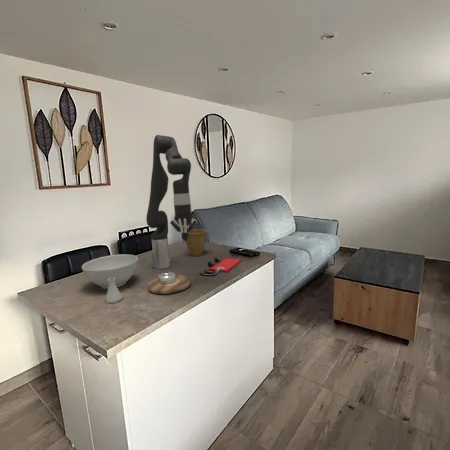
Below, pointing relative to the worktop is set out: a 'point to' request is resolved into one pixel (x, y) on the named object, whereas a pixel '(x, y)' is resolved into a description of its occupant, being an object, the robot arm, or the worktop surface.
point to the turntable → (169, 285)
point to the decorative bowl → (110, 269)
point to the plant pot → (196, 241)
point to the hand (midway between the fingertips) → (185, 240)
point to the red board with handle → (221, 266)
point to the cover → (167, 278)
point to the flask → (113, 292)
